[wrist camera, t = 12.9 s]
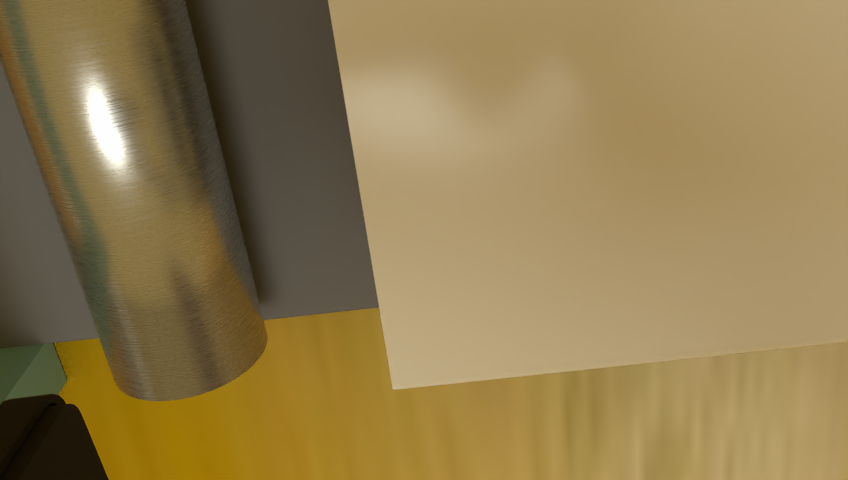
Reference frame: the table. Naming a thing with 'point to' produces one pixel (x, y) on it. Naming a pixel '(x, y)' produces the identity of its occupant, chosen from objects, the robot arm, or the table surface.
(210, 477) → the table surface
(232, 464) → the table surface
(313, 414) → the table surface
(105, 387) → the table surface
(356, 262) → the runway
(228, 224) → the loose roller
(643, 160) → the slab
